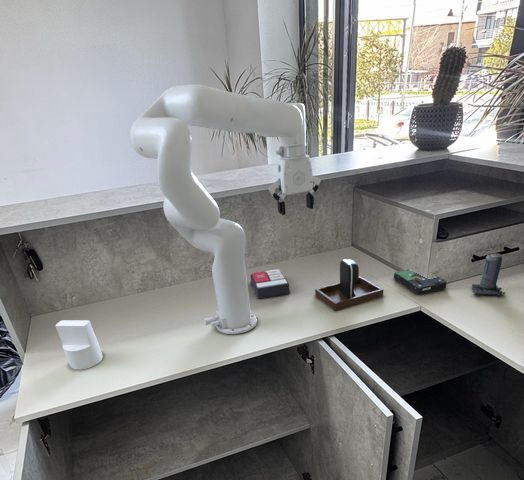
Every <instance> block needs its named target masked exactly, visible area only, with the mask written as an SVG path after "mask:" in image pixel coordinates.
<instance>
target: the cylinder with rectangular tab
mask: <svg viewBox="0 0 524 480" xmlns="http://www.w3.org/2000/svg"><path fill="white" fill-rule="evenodd" d="M55 328H56V331H57V334H58V336H59V339H60V342H61V344H62V349H63V352H64V354H65V357H66V359H67V362H68V364H69V367H70V368H71V369H73V370H85V369H89V368H92V367H94V366H96V365H97V364H99V363H100V362H101V361H102V360H103V358H104V357H103V356H104V355H103V353H102V349H101V347H100V344H99V341H98V338H97V336H96V334H95V332H94V329H93V326H92V323H91V321H90V320H89V319H87V320H83V319H82V320H78V319H77V320H73V319H71V320H67V319H66V320H65V319H62V320H60V321H58V322H57V323H56V324H55Z"/></svg>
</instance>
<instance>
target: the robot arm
mask: <svg viewBox="0 0 524 480" xmlns="http://www.w3.org/2000/svg"><path fill="white" fill-rule="evenodd" d="M189 127H199V128H204V129H205V128H206V129H211V130H217V131H223V132H228V133H238V134H257V135H259V136H260V137H265V138H279V149H276V151H275V153H276V155H277V156H279V158H278V163H277V180H276V181H275V182H273V183H272V184H271V185H270V186H269V187H268V188H267V190H268V192H269V193H270V195H271V197H272V198H273V199H274V200H275V201H276V203H277V211H278V213H279V215H281V216H285V215H286V202H285V201H284V199H285V198H286V196H290V195H297V194H302V193H307V194H306V195H305V200H306V201H305V202H306V204H305V205H306V208H307V209H310V210H313V209H314V205H315V200H314V199H315V198H314V197H315V195H316V192H317V191H318V189H319V187H320V183H321V181H322V179H321V178H320V177H318V176H315V175H313V168H312V167H313V166H312V161H311V158H310V157H311V156H310V154H307V132H306V130H307V129H306V108H305V105H304V103H302V102H284V101H280V100H275V99H271V98H270V99H269V98H263V97H257V96H252V95H247V94H240V93H236V92H231V91H227V90H224V89H220V88H216V87H212V86H209V85H204V84H200V83H199V84H197V83H193V84H182V85H181V84H180V85H173V86H170V87H169V88H167V89H166V90H165V91H164V92H162V94H161V95H159V96H158V97H157V98H156V99H155V100H154V101H153V102H152V103H151V104H150V105H149V106H148V107H147V108H146V109H145V110H144V111H143V112H142V113H141V114H140V115H139V116H138V117H137V118H136V119H135V120H134V122H133V124H132V126H131V128H130V132H129V139H130V144H131V146H132V148H133V149H134V151H135V152H136V153H137V154H138V155H140V156H142V157H143V158H147V159H157V163H156V166H157V167H156V168H157V175H156V177H157V184H158V187H159V189H160V191H161V192H162V195H163V196H164V200H163V206H162V207H163V213H164V216H165V218H166V220H167V222H168V223H169V224H170V225H171V226H172V227H173V228H174V229H175V230H176V231H177V232H178V233H179V234H180V235H181V236H182V237H183V238H184V239H185V241H187V242H188V243H189V244H190V245H191V246H192V247H194V248H195V249H197V250H200V251H203V252H206V253H210V254H213V255H214V259H213V262H212V265H211V266H212V268H211V276H212V281H213V287H214V293H215V299H216V304H217V310H216V311H215V314H214V315H213V316H211V317H206V318H203V323H204V325H205V326H209V325H210V326H211V328H213V327H215V328H216V330H217V331H218V332H220V333H222V334H225V335H238V334H243V333H247V332H249V331H250V330H253V328H255V327H256V326H257V323H258V319H257V316H256V315H255V314H253V313H252V312H251V305H250V303H251V302H250V295H249V285H248V278H247V270H246V260H245V256H246V254H245V253H246V243H247V242H246V241H247V238H246V233H245V231H244V229H243V226H241V225H240V224H239V223H237V222H235V221H233V220H231V219H230V220H229V219H226V218H221V211H220V207H219V206H218V204H217V202H216V201H215V199H214V198H213V197H212V196H211V194H210V193H209V192H208V190H206V188H205V187H204V186H203V184H201V182H200V181H199V180H198V178H197V176H196V175H195V174H194V171H193V170H192V166H191V165H192V164H191V155H192V148H193V138H192V134H191V130H190V129H189ZM276 189H277V190H278V193H276Z"/></svg>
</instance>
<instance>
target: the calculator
mask: <svg viewBox="0 0 524 480" xmlns="http://www.w3.org/2000/svg"><path fill="white" fill-rule="evenodd" d="M250 283H251V285H252V287H253V289H254V293H255V295H256V297H257V299H258V300H259V299H264V298H271V297H277V296H278V297H279V296H284V295H289V294H290V283H289V281H288V280H287V278H286V277H285V276H284V274H283V273H282V271H281V270H280V269H279V268H275V269H269V270H266V271H265V270H264V271H263V270H262V271H258V272H257V271H256V272H252V273H251V274H250Z"/></svg>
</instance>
